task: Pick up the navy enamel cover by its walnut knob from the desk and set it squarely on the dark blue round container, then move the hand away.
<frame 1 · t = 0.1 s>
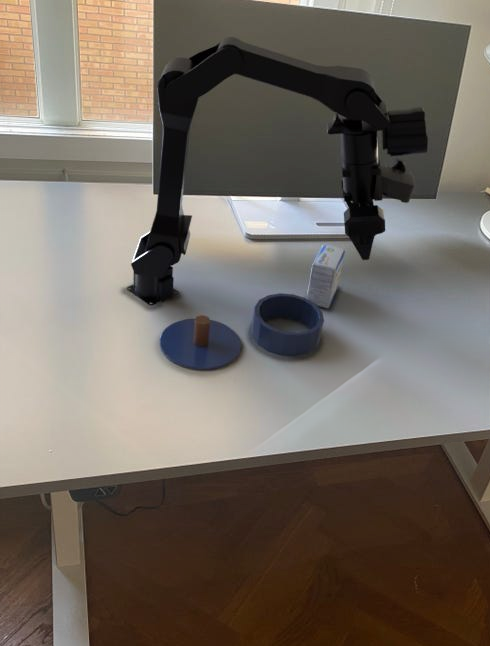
hand: (364, 245, 121), 15 cm above the table, tool pointing down, fingers open, 9 cm apart
dark blue round container: (285, 337, 123), on the table
cover: (200, 344, 116), point 1 cm above the table
medicine box: (321, 296, 135), on the table
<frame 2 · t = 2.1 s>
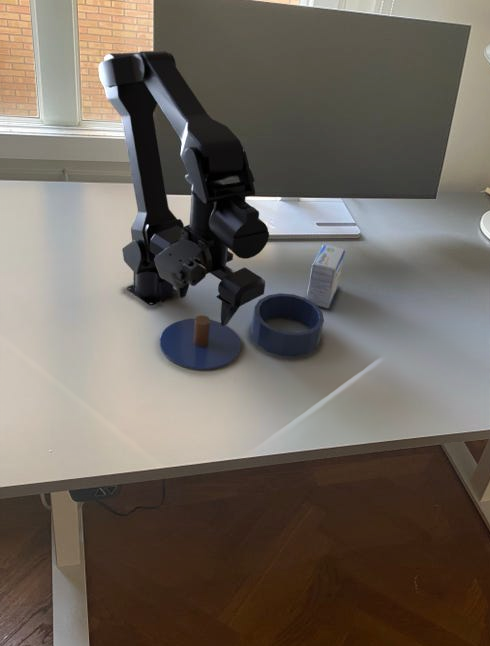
hand: (203, 310, 112), 7 cm above the table, tool pointing down, fingers open, 9 cm apart
nothing on the table moved.
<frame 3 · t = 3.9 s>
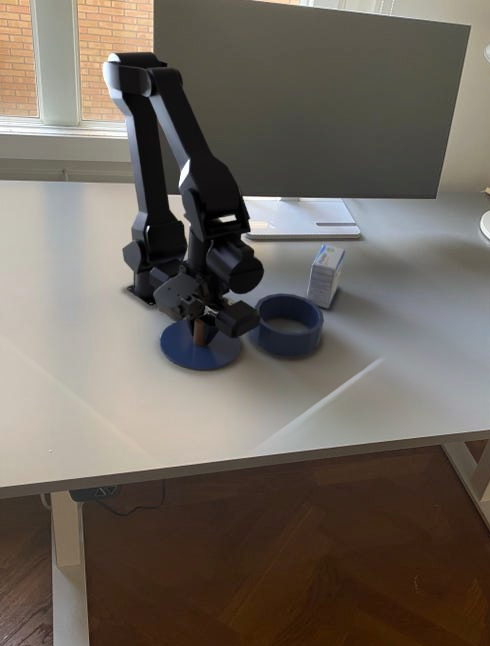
hand: (200, 339, 115), 2 cm above the table, tool pointing down, fingers closed on cover, 2 cm apart
cover: (200, 344, 116), point 1 cm above the table, touching gripper
everything else where it was.
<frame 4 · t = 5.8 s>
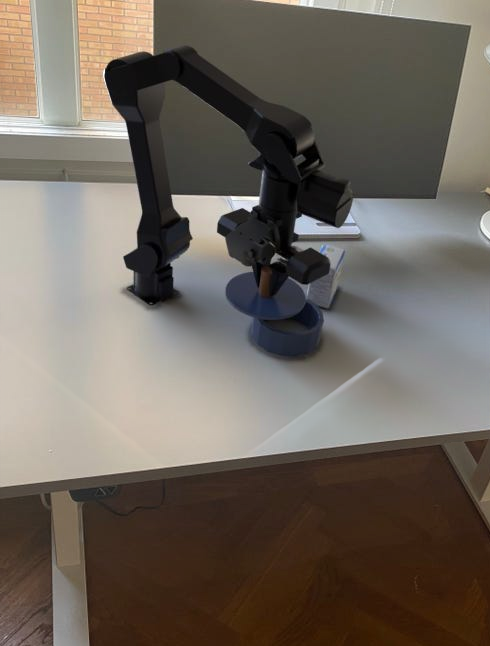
hand: (266, 291, 114), 10 cm above the table, tool pointing down, fingers closed on cover, 2 cm apart
cover: (265, 295, 115), point 9 cm above the table, touching gripper
everything else where it was.
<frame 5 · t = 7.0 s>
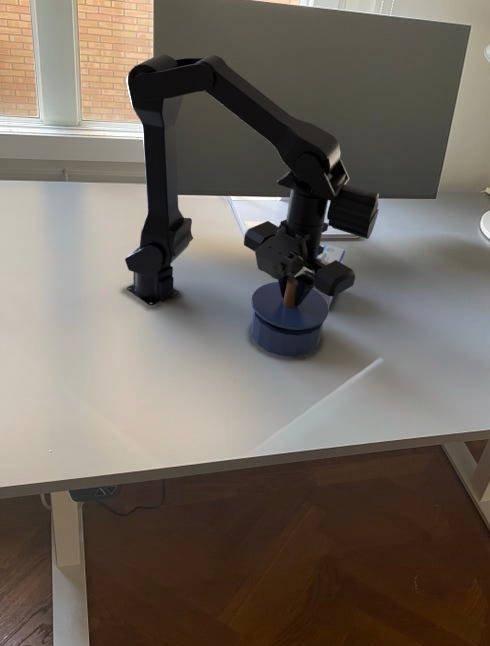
hand: (291, 301, 118), 7 cm above the table, tool pointing down, fingers closed on cover, 2 cm apart
cover: (290, 306, 119), point 7 cm above the table, touching gripper
everything else where it was.
when the fingers open (6 cm above the table, at t = 7.7 s): cover stays where it is, resting on dark blue round container.
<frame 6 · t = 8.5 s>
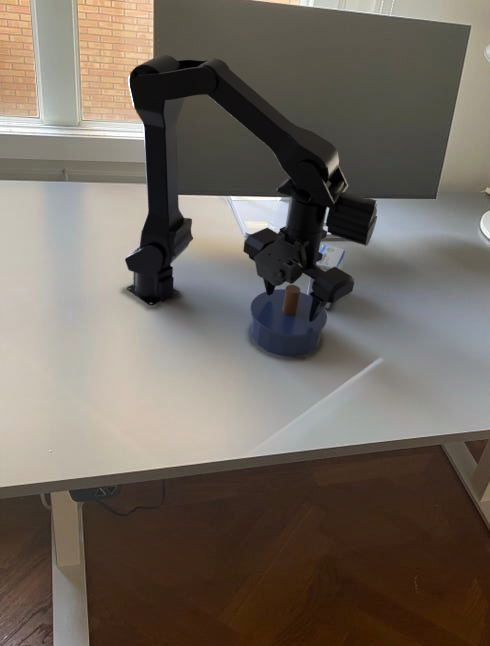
hand: (290, 307, 119), 6 cm above the table, tool pointing down, fingers open, 9 cm apart
cover: (288, 313, 119), point 5 cm above the table, touching dark blue round container
everything else where it was.
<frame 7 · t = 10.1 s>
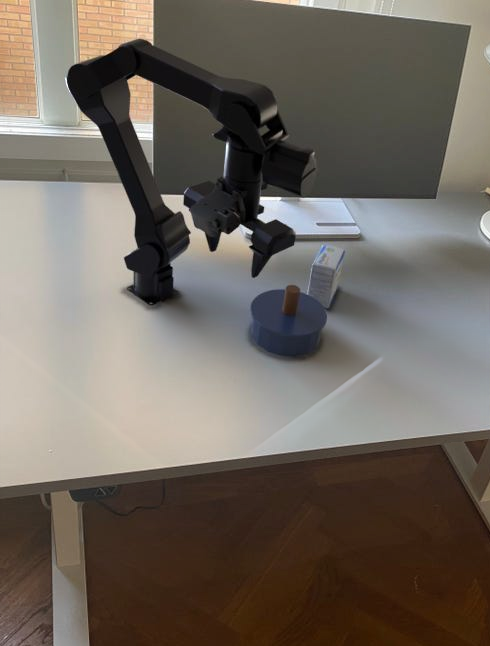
hand: (233, 263, 115), 12 cm above the table, tool pointing down, fingers open, 9 cm apart
nothing on the table moved.
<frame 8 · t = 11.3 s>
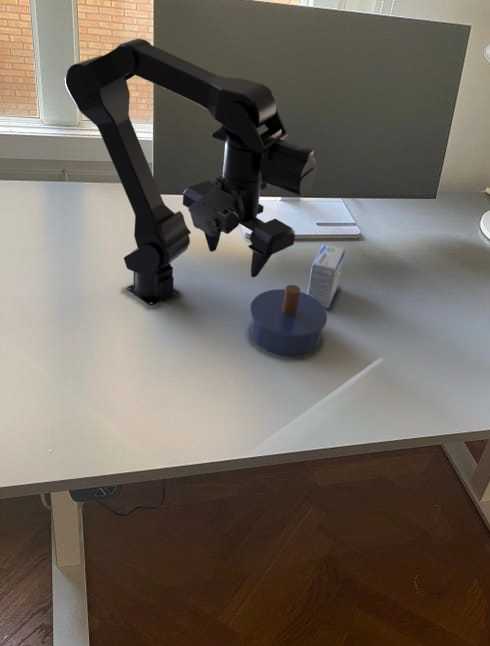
hand: (233, 263, 115), 12 cm above the table, tool pointing down, fingers open, 9 cm apart
nothing on the table moved.
at the end: cover 0.1 cm off-centre on the dark blue round container, point 5.0 cm above the dark blue round container's base; cover tilted 0°; the gripper is holding nothing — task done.
